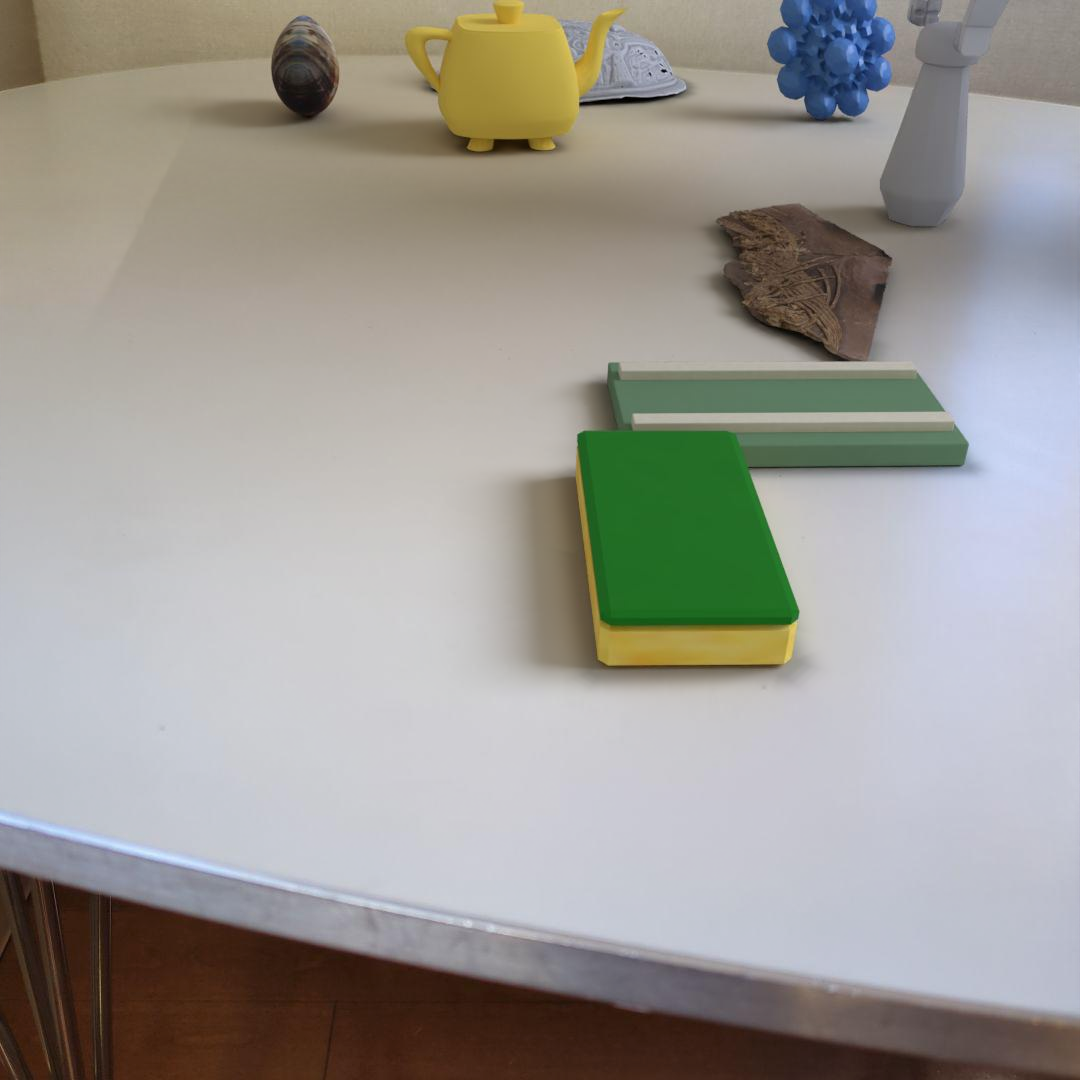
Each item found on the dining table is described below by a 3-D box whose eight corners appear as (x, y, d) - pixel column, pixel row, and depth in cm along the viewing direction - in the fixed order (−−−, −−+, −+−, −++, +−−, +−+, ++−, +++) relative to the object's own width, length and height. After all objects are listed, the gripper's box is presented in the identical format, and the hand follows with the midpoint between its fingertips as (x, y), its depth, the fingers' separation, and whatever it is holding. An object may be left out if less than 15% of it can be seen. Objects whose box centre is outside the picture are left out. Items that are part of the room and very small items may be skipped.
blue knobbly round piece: (771, 133, 105) (789, -17, 98) (751, 112, 111) (768, -31, 104) (900, 132, 106) (927, -16, 99) (874, 112, 112) (898, -30, 105)
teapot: (608, 119, 107) (615, -11, 101) (633, 155, 98) (642, 13, 92) (405, 122, 105) (400, -11, 99) (411, 159, 96) (406, 14, 90)
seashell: (284, 101, 110) (275, 7, 106) (347, 102, 111) (341, 8, 106) (268, 129, 102) (258, 28, 98) (335, 130, 103) (328, 29, 98)
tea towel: (905, 381, 64) (912, 351, 63) (964, 466, 57) (972, 433, 56) (606, 382, 63) (608, 351, 62) (626, 468, 56) (628, 435, 55)
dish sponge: (598, 668, 44) (601, 615, 42) (574, 474, 55) (576, 428, 54) (792, 667, 44) (802, 614, 43) (729, 475, 55) (735, 428, 54)
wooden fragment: (712, 207, 87) (714, 193, 86) (866, 215, 86) (869, 200, 86) (733, 361, 66) (735, 344, 65) (938, 373, 65) (942, 355, 64)
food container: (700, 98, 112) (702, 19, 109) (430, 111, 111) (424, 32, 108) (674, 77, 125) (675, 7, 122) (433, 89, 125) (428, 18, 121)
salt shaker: (926, 236, 83) (966, 36, 76) (857, 215, 87) (890, 22, 80) (972, 219, 87) (1015, 26, 79) (905, 199, 90) (940, 12, 83)
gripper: (1125, -196, 64) (1053, 76, 72) (986, -209, 81) (940, 11, 89) (1010, -201, 64) (950, 73, 71) (894, -214, 81) (856, 9, 88)
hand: (943, 38), depth 80 cm, fingers open, 8 cm apart
